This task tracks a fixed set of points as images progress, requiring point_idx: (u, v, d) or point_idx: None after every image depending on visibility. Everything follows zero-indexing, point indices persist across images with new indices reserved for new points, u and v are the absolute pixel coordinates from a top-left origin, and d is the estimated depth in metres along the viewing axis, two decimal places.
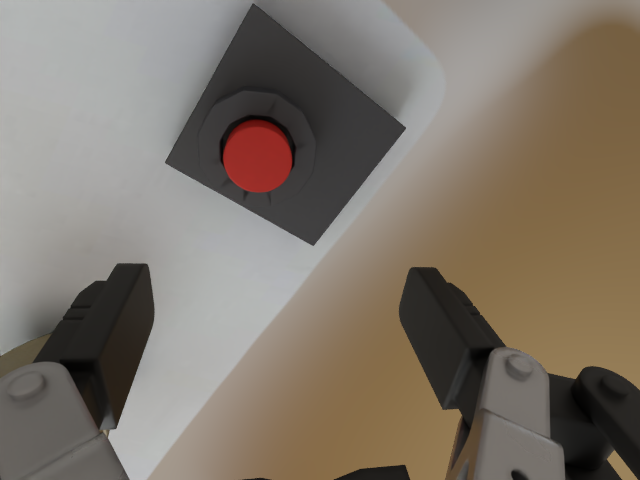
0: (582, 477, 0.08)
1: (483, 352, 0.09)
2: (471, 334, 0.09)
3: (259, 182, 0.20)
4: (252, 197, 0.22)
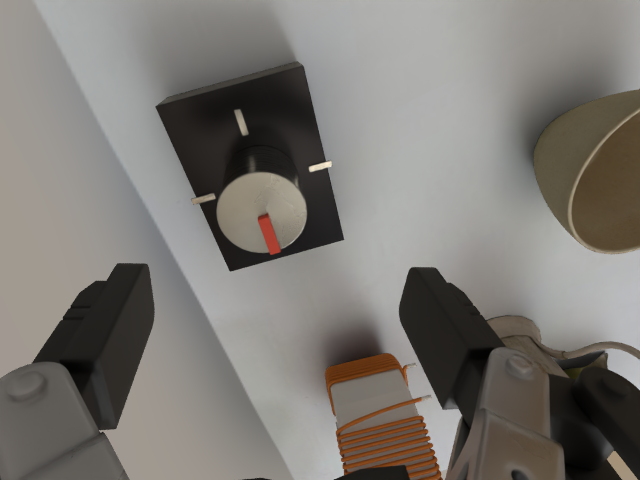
0: (582, 477, 0.08)
1: (483, 352, 0.09)
2: (471, 334, 0.09)
3: None
4: None
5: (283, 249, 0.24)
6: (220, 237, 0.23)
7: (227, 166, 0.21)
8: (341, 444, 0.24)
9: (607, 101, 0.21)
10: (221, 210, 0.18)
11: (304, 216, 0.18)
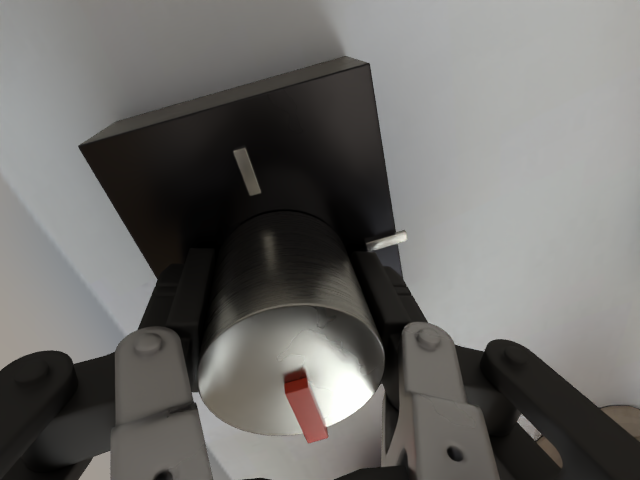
0: (500, 445, 0.08)
1: (401, 327, 0.09)
2: (392, 310, 0.09)
3: None
4: None
5: None
6: None
7: (222, 251, 0.11)
8: None
9: None
10: (207, 378, 0.08)
11: (379, 374, 0.09)
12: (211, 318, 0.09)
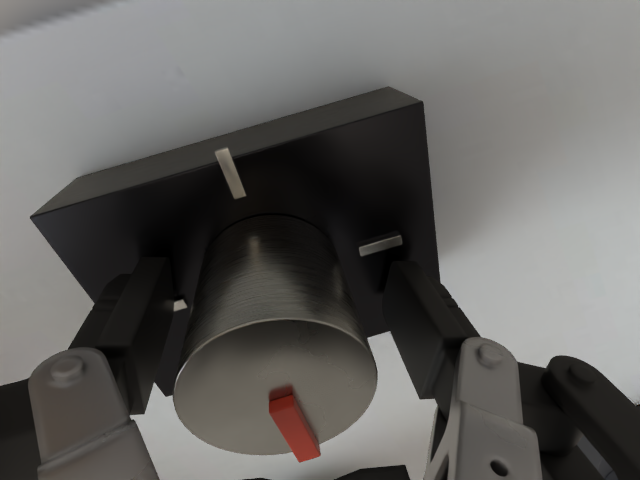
0: (555, 464, 0.08)
1: (457, 342, 0.09)
2: (446, 325, 0.09)
3: None
4: None
5: None
6: (131, 200, 0.10)
7: (204, 259, 0.11)
8: None
9: None
10: (183, 400, 0.08)
11: (371, 388, 0.08)
12: (187, 335, 0.08)
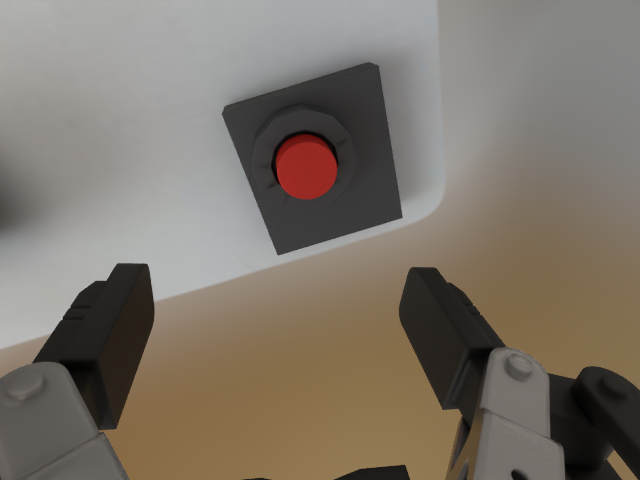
0: (582, 477, 0.08)
1: (483, 352, 0.09)
2: (471, 334, 0.09)
3: (295, 186, 0.22)
4: (273, 191, 0.24)
5: None
6: None
7: None
8: None
9: None
10: None
11: None
12: None
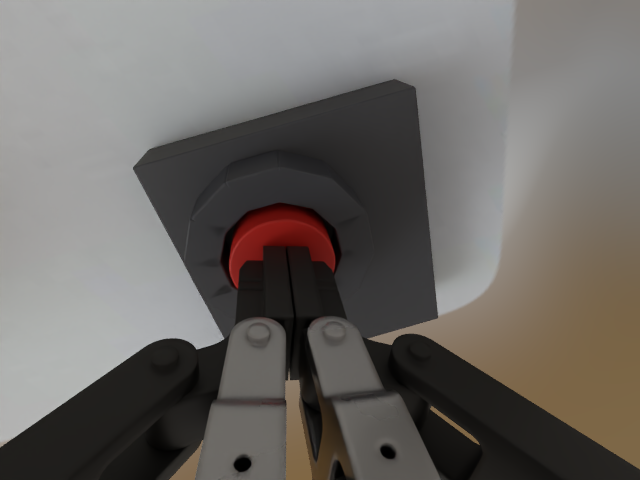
0: None
1: None
2: (307, 305, 0.09)
3: None
4: (227, 300, 0.14)
5: None
6: None
7: None
8: None
9: None
10: None
11: None
12: None
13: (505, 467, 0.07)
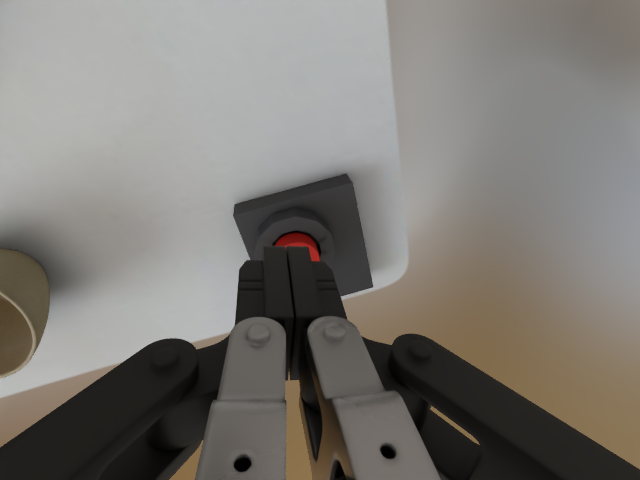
0: None
1: None
2: (307, 305, 0.09)
3: None
4: None
5: None
6: None
7: None
8: None
9: (23, 277, 0.27)
10: None
11: None
12: None
13: (504, 466, 0.07)
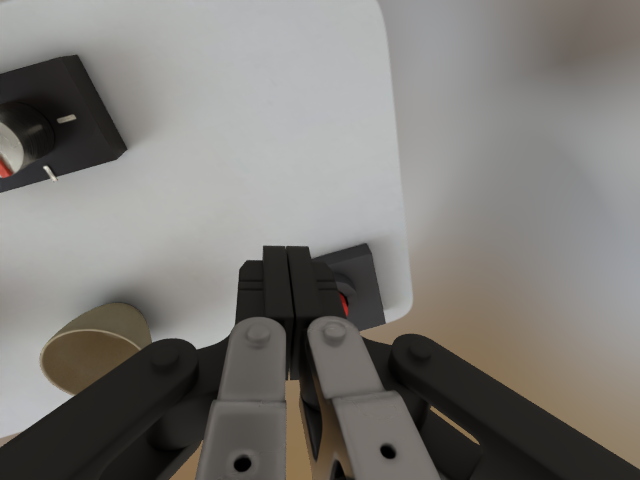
0: None
1: None
2: (307, 305, 0.09)
3: None
4: None
5: None
6: None
7: None
8: None
9: (139, 327, 0.38)
10: None
11: (20, 147, 0.25)
12: None
13: (505, 467, 0.07)
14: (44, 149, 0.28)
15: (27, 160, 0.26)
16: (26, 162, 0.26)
